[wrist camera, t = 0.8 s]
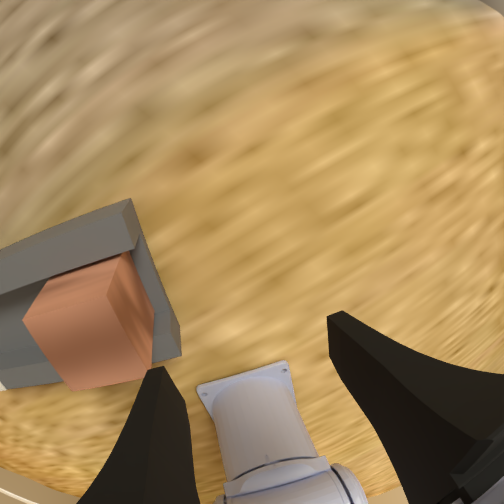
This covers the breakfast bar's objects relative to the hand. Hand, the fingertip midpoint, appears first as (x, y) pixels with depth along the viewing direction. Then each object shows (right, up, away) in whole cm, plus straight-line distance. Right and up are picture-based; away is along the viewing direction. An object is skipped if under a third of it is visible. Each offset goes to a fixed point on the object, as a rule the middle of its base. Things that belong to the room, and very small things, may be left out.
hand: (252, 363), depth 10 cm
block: (-9, +1, +8) cm, 12 cm away
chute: (-15, 0, +8) cm, 17 cm away
